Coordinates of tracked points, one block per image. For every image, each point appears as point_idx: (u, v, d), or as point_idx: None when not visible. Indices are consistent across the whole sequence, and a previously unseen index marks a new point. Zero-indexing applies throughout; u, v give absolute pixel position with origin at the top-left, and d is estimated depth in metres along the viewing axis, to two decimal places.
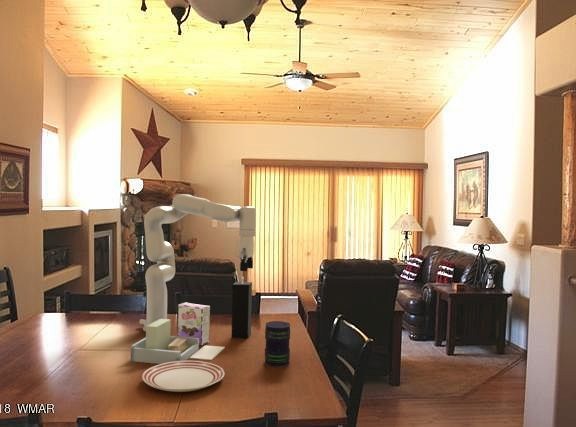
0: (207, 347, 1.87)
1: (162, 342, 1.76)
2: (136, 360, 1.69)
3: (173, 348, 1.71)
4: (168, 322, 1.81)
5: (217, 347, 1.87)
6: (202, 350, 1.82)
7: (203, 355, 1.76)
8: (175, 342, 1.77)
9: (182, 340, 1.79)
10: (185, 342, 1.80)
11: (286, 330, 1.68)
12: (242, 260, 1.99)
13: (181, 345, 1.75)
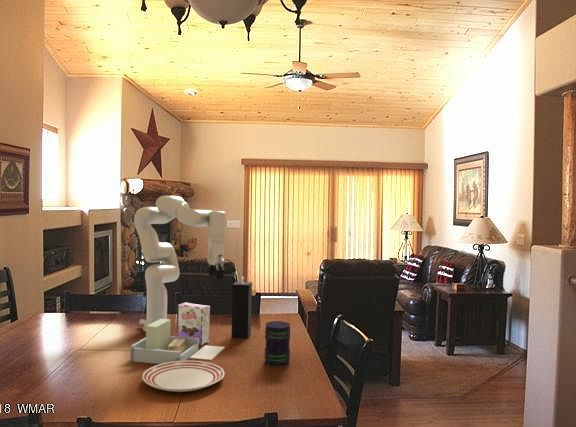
0: (207, 347, 1.87)
1: (162, 342, 1.76)
2: (136, 360, 1.69)
3: (173, 349, 1.71)
4: (168, 322, 1.81)
5: (217, 347, 1.87)
6: (202, 350, 1.82)
7: (203, 355, 1.76)
8: (174, 342, 1.77)
9: (181, 340, 1.79)
10: (184, 342, 1.80)
11: (286, 330, 1.68)
12: (221, 268, 1.89)
13: (180, 345, 1.75)
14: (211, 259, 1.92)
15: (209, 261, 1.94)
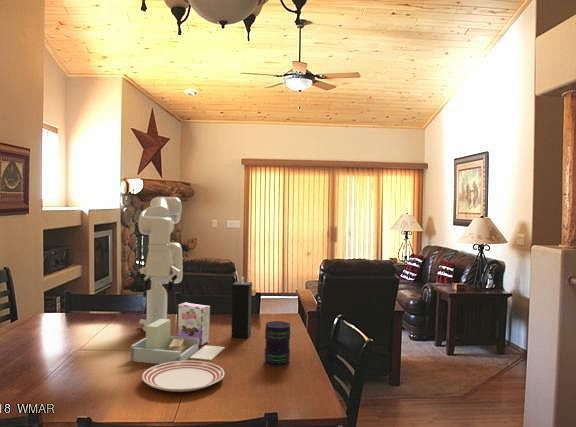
0: (207, 347, 1.87)
1: (162, 342, 1.76)
2: (136, 360, 1.69)
3: (174, 349, 1.71)
4: (168, 322, 1.81)
5: (217, 347, 1.87)
6: (202, 350, 1.82)
7: (203, 355, 1.76)
8: (175, 342, 1.76)
9: (181, 340, 1.79)
10: (183, 342, 1.80)
11: (286, 330, 1.68)
12: (175, 279, 1.76)
13: (181, 345, 1.75)
14: (160, 271, 1.74)
15: (154, 274, 1.75)
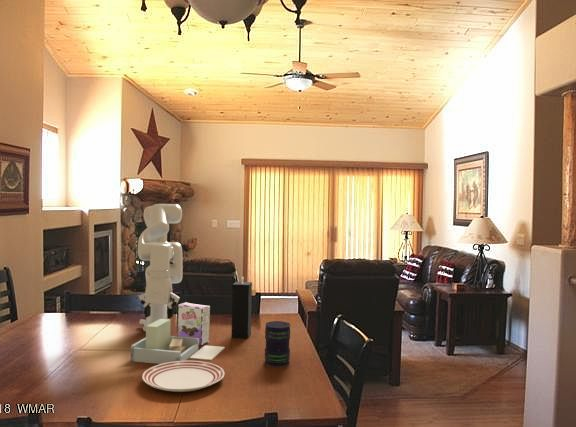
0: (207, 347, 1.87)
1: (162, 342, 1.76)
2: (136, 360, 1.69)
3: (175, 349, 1.71)
4: (168, 322, 1.81)
5: (217, 347, 1.87)
6: (202, 350, 1.82)
7: (203, 355, 1.76)
8: (174, 342, 1.76)
9: (179, 340, 1.79)
10: (182, 342, 1.80)
11: (286, 330, 1.68)
12: (174, 305, 1.76)
13: (181, 345, 1.75)
14: (159, 298, 1.74)
15: (153, 300, 1.75)
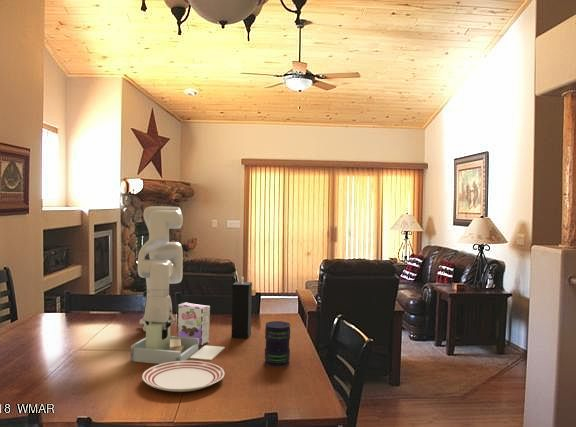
0: (207, 347, 1.87)
1: (162, 341, 1.76)
2: (136, 360, 1.69)
3: (175, 349, 1.71)
4: (168, 322, 1.81)
5: (217, 347, 1.87)
6: (202, 350, 1.82)
7: (203, 355, 1.76)
8: (173, 342, 1.76)
9: (178, 340, 1.79)
10: None
11: (286, 330, 1.68)
12: (169, 326, 1.77)
13: None
14: (159, 316, 1.75)
15: (153, 319, 1.75)
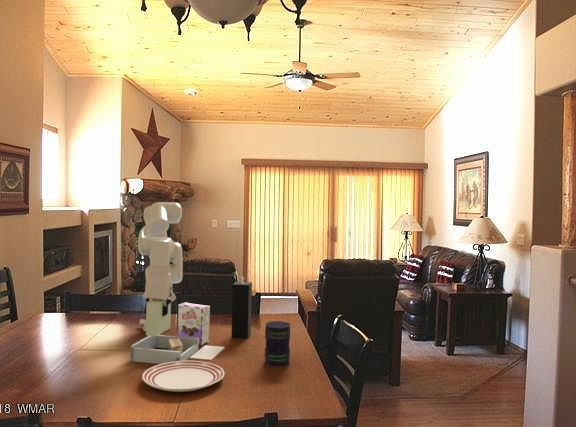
0: (207, 347, 1.87)
1: (162, 318, 1.77)
2: (136, 360, 1.69)
3: (177, 348, 1.72)
4: None
5: (217, 347, 1.87)
6: (202, 350, 1.82)
7: (203, 355, 1.76)
8: (173, 342, 1.76)
9: (177, 340, 1.79)
10: None
11: (286, 330, 1.68)
12: (169, 303, 1.77)
13: None
14: (159, 293, 1.75)
15: (153, 296, 1.75)
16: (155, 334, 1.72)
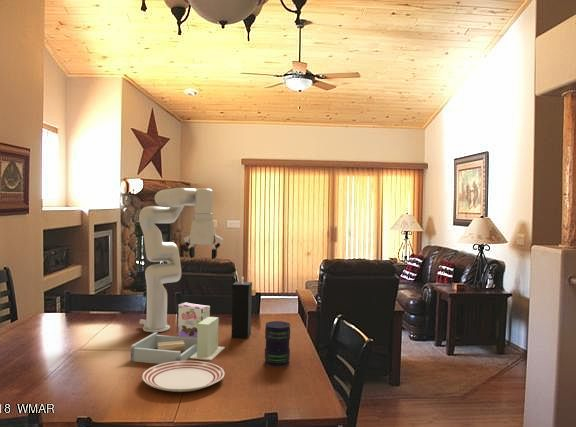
0: None
1: (212, 339, 1.80)
2: (136, 360, 1.69)
3: None
4: (216, 320, 1.84)
5: None
6: None
7: None
8: (170, 343, 1.75)
9: (164, 342, 1.76)
10: None
11: (286, 330, 1.68)
12: (218, 246, 1.85)
13: None
14: (204, 239, 1.83)
15: (198, 241, 1.84)
16: (206, 355, 1.75)
